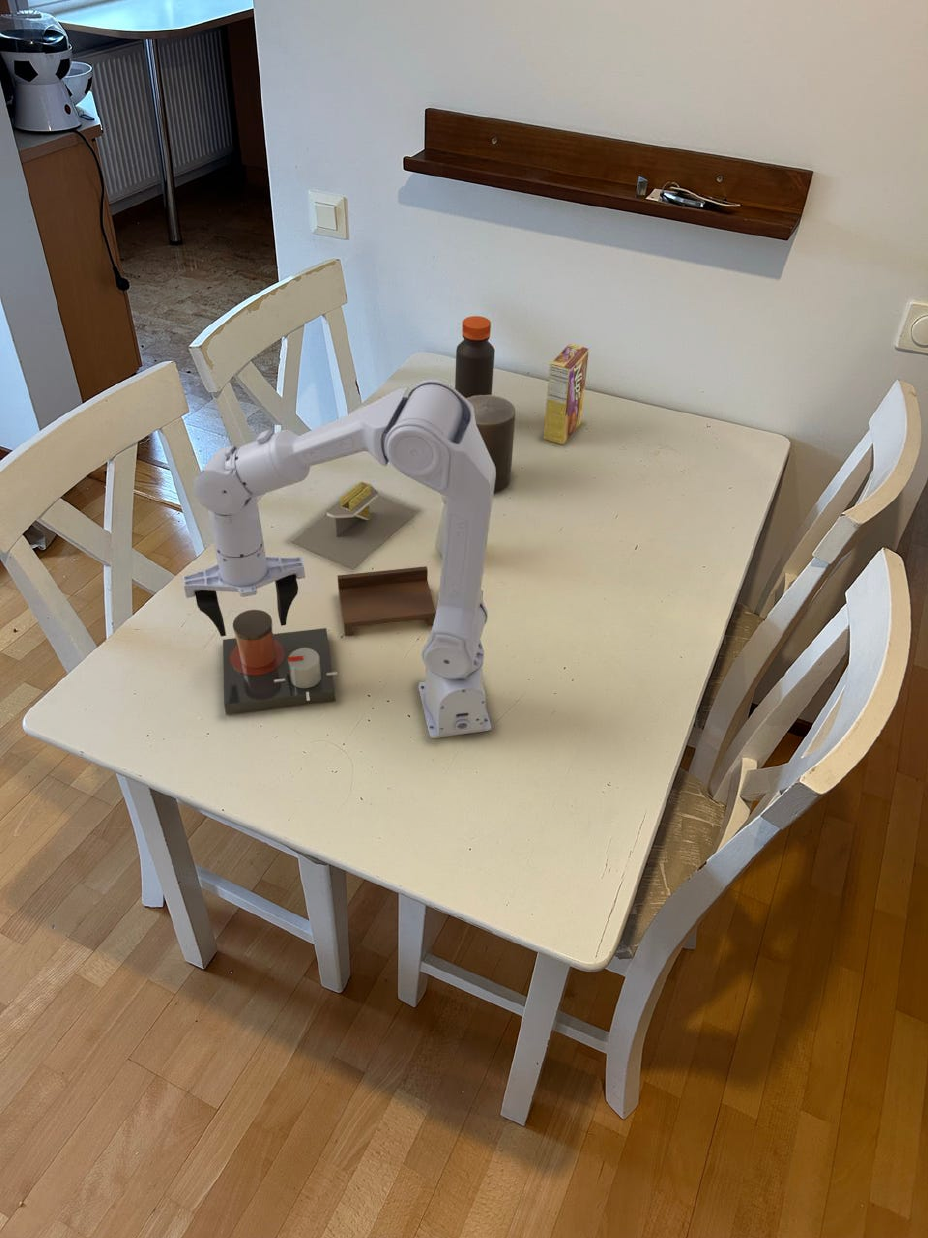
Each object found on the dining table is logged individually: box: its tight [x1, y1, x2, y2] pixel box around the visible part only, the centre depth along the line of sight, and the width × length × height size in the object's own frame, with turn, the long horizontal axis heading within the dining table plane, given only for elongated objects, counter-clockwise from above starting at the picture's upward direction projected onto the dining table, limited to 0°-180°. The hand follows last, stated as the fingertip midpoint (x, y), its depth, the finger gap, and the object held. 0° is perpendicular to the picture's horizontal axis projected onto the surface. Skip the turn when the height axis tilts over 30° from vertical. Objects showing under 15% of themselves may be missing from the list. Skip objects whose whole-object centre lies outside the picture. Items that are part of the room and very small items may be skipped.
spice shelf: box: [336, 565, 437, 636], centre depth 131 cm, size 8×13×4 cm, turn 102°
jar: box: [232, 609, 276, 668], centre depth 120 cm, size 5×5×6 cm
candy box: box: [543, 343, 590, 445], centre depth 165 cm, size 9×4×15 cm, turn 152°
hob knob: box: [288, 648, 321, 688], centre depth 118 cm, size 4×4×4 cm
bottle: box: [454, 315, 495, 398], centre depth 164 cm, size 7×7×20 cm
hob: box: [222, 627, 338, 716], centre depth 121 cm, size 13×15×2 cm
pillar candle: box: [466, 394, 516, 495], centre depth 153 cm, size 10×10×15 cm
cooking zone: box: [230, 640, 285, 676], centre depth 122 cm, size 7×7×1 cm
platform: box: [291, 481, 419, 570], centre depth 145 cm, size 12×18×7 cm, turn 148°
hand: (252, 625), depth 118 cm, fingers open, 7 cm apart
